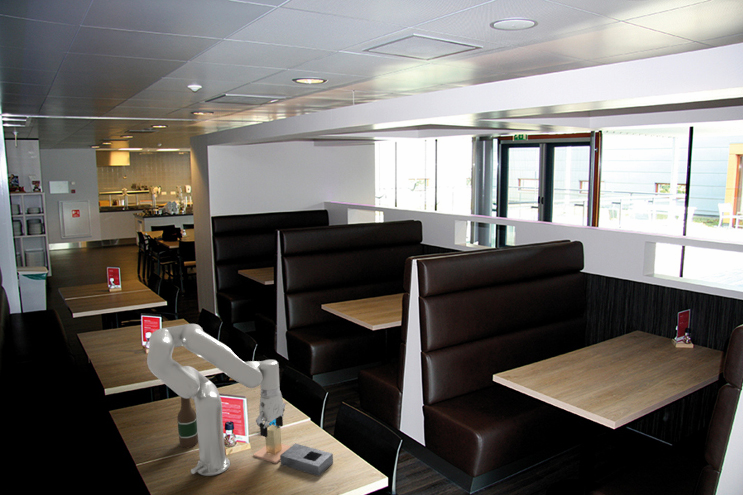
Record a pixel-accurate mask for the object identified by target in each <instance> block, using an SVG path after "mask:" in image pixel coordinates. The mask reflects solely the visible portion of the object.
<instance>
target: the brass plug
mask: <svg viewBox="0 0 743 495" xmlns="http://www.w3.org/2000/svg"><path fill="white" fill-rule="evenodd" d="M267 432H268V436H267V437H264V438H265V446H266V452H267V453H271V454H274V455H275V454H277V453H278V452H279V451H281V450H282V446H281V444H282V433H281V432H282V431H281V426H275V425H274V424H272V425H271V426H270V425H268V426H267Z"/></svg>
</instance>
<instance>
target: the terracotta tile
mask: <svg viewBox="0 0 743 495" xmlns="http://www.w3.org/2000/svg"><path fill="white" fill-rule="evenodd" d="M281 446H282V450H281V451H279V452H278V453H277V454H275V455H274V454H271V453H267V452H266V445H264V446H263V447H262V448H260V449H259V450H257V451H256V452H254V453H253V456H252V457H254V458H257V459H261V460H264V461H267V462H270V463H274V464H278V463H280V462H281V460H280V455H281V454H282V453H284V452H285V451H286V450H288V449H289V448H290V447H292V446H293V445H288V444H284V443H281Z"/></svg>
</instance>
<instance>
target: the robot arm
mask: <svg viewBox="0 0 743 495" xmlns="http://www.w3.org/2000/svg"><path fill="white" fill-rule="evenodd" d="M148 342H149V343H148V346H149V348H148V353H147V358H146V359H147V360H146V363H147V367H148V369H149V371H150V373H152V375H154V376H155V377H156V378H157V379H158V380H160V381H161V382H162V383H163V384H165V385H166V387H168V388H169V389H171V390H172V391H173V392H174V393H175V394H177V395H178V396H179V397H180V398H181V397H182V398H186V399H189V398H190V399H192V400H193V402H194V406H195V413H196V419H197V432H198V453H199V460H198V461H197V464H196V465H195V466H194V467H193V468H191V469H190V473H191V474H194V475H195V474H196V473H198V474H199V475H201V476H205V477H208V476H210V477H211V476H216V475H219V474H222V473H223V472H225V471H226V470H228V469H229V468H230V465H231V462H230V459H229V458H228V457H226V450H225V448H226V447H225V436H224V424H223V403H222V398H221V396H220V392H219V390H218V388H217V386H216V385H215V384H214V383H213V382H212V381H211V380H210V379H208V377H206V376H205V375H204V374H202V372H200V371H199V370H197V369H196V368H195V367H193V366H190V365H181V364H180V363H179V362H178V361H176V360H174V358H173V352H174V349H175V348H179V347H184V348H185V350H187V351H189V352H191V353H192V354H193V355H195V356H198V357H199V358H201V359H203V360H205V361H206V362H207V363H210V364H211V365H213V366H214V367H216V368H217V369H218V370H220V371H221V372H222V373H224V374H225V375H226V376H228V377H229V378H231V379H232V380H234V381H236V382H237V383H239V384H241V385H242V386H244V387H246V388H250V389H255V388H257V387H260V398H259V408H258V409H259V415H258V416H257V417H256V418H255V422H256V425H257V426H258V427H259V431H260V433H259V434H260V436H261V437H264V438H265V437H267V436H268V432H267V428H268V424H269V423H270V422H271V421H273V420H274V419H276V423H275V424H276V425H277V426H279V427H280V428H282V427H283V426H284V423H283V422H284V421H283V420H284V412H285V408H286V403H284V401H283V400H284V399H283V395H282V392H281V390H280V368H279V367H280V366H279V362H278V361H277V360H276V359H265V360H261V361H260V360H258V361H257V360H256V361H255V360H252V361H251V360H250V361H249V360H248V361H243V360H242V359H241V358H239V356H237V355H236V354H235V353H234V351H233V350H232V349H231V348H230V347H229V346H227V345H226V344H225V343H223V342H221V341H219V340H218V339H216V338H214V337H213V336H211V335H210V334H209V333H207V332H205V331H204V330H203V327H201V326H200V325H199V324H196V323H187V324H181V325H180V324H179V325H174V326H169V327H162V328H158V329H156V330H154V331H153V332H152V333H151V335H150V336H149V340H148Z"/></svg>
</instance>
